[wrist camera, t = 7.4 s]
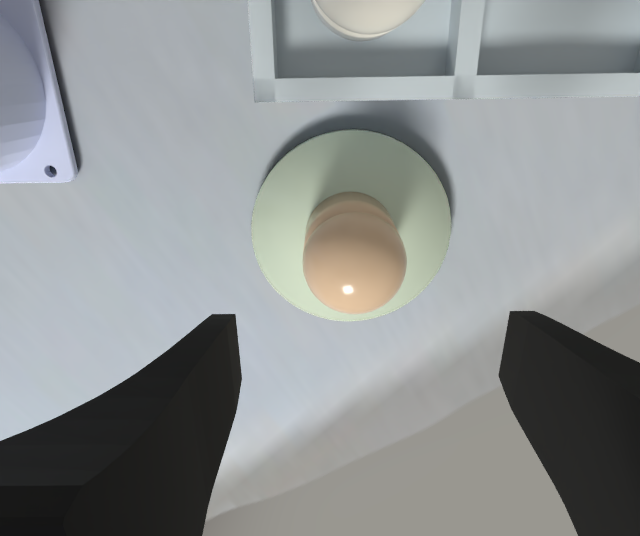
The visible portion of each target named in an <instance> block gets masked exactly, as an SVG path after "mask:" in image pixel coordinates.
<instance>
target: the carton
mask: <svg viewBox="0 0 640 536" xmlns="http://www.w3.org/2000/svg"><path fill="white" fill-rule="evenodd" d="M248 14H249V29H250V43H251V58H252V73H253V87H254V102H309V101H373V100H438V99H503V98H568V97H632V96H640V0H425V2H424V3H423V4H422V6H421V7H420V8H419V9H418V11H417V12H416V13H415V14H414V15H413V16H412V17H411V18H410V19H408V20H407V21H406V22H404V23H403V24H402V25H400V26H399V27H397V28H395V29H394V30H392V31H391V32H389V33H387V34H386V35H384V36H382V37H380V38H377V39H374V40H370V41H362V42H361V41H352V40H347V39H345V38H342V37H340V36H338V35H336V34H335V33H333V32H332V31H330V30H329V29H328V28H327V27H326V26H325V25H324V24H323V22H322V21H321V20H320V19H319V17H318V15H317V14H316V12H315V10H314V7H313V5H312V2H311V0H248Z"/></svg>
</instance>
